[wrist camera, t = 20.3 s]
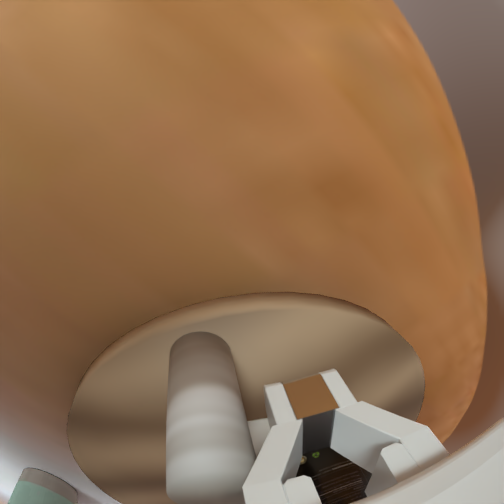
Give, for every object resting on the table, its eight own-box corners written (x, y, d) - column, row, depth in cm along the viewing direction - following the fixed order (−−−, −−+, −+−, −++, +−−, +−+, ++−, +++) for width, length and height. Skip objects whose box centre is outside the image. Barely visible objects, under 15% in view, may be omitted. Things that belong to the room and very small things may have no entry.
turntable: (4, 356, 11) (-56, 457, 4) (414, 228, 13) (543, 289, 6) (172, 523, 19) (178, 587, 12) (398, 456, 21) (435, 512, 14)
